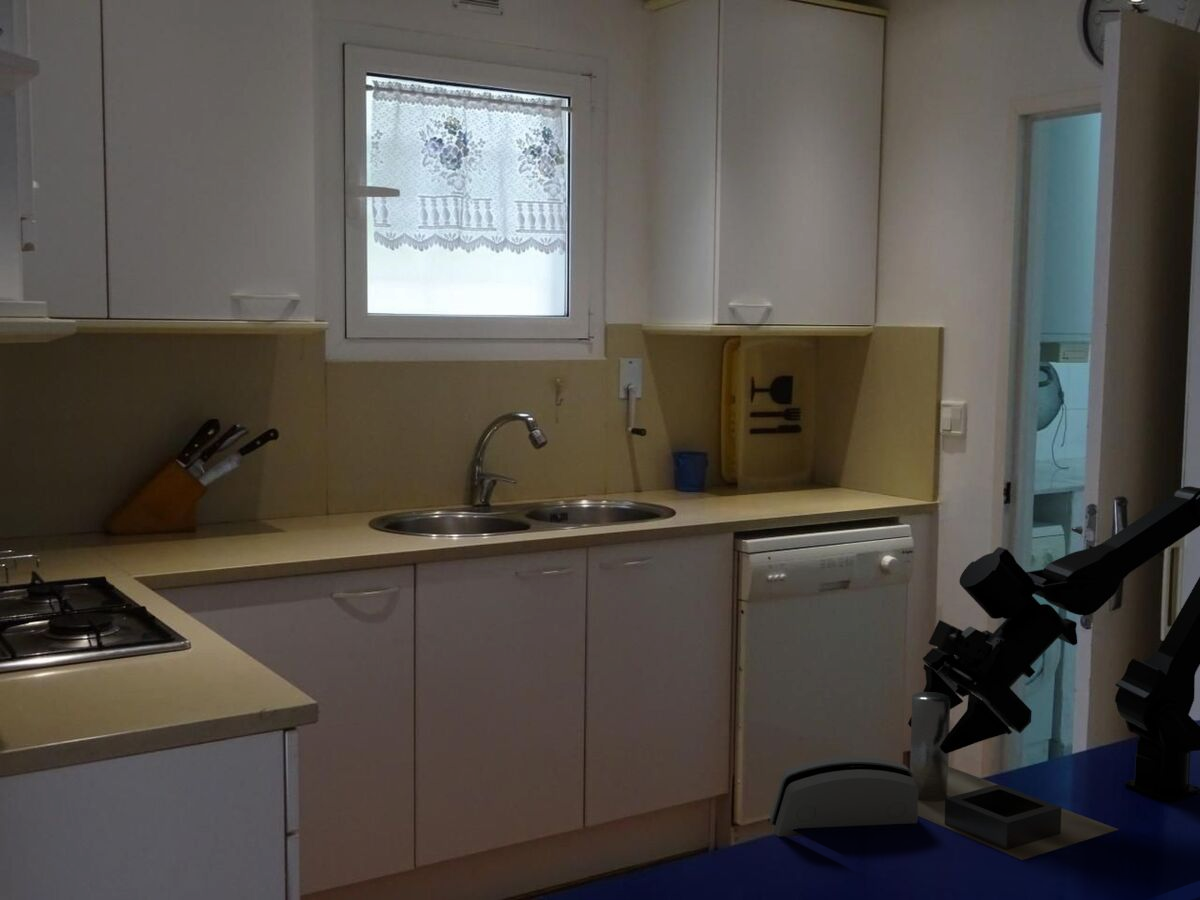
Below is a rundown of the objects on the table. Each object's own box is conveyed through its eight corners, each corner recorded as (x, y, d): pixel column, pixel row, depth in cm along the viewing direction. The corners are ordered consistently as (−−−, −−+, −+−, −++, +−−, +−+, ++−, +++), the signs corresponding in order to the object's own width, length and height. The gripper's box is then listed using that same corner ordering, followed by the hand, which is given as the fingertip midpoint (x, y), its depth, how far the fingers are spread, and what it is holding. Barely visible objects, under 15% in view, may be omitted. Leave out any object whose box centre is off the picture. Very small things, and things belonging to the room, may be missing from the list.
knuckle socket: (997, 809, 156) (998, 784, 156) (1060, 833, 149) (1061, 807, 148) (944, 824, 151) (945, 798, 151) (1006, 850, 144) (1007, 823, 144)
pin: (927, 786, 163) (930, 690, 162) (955, 797, 160) (958, 698, 159) (901, 793, 161) (904, 695, 160) (929, 804, 157) (931, 704, 156)
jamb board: (942, 771, 172) (943, 764, 172) (1118, 838, 150) (1118, 829, 150) (850, 795, 163) (850, 787, 163) (1021, 868, 141) (1022, 859, 141)
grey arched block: (903, 815, 157) (916, 746, 153) (917, 843, 153) (930, 773, 149) (764, 822, 155) (773, 751, 151) (774, 850, 151) (783, 779, 147)
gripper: (940, 583, 168) (853, 673, 167) (1010, 615, 150) (913, 716, 149) (997, 643, 170) (911, 732, 169) (1072, 682, 152) (977, 782, 151)
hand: (926, 738), depth 160 cm, fingers open, 9 cm apart
